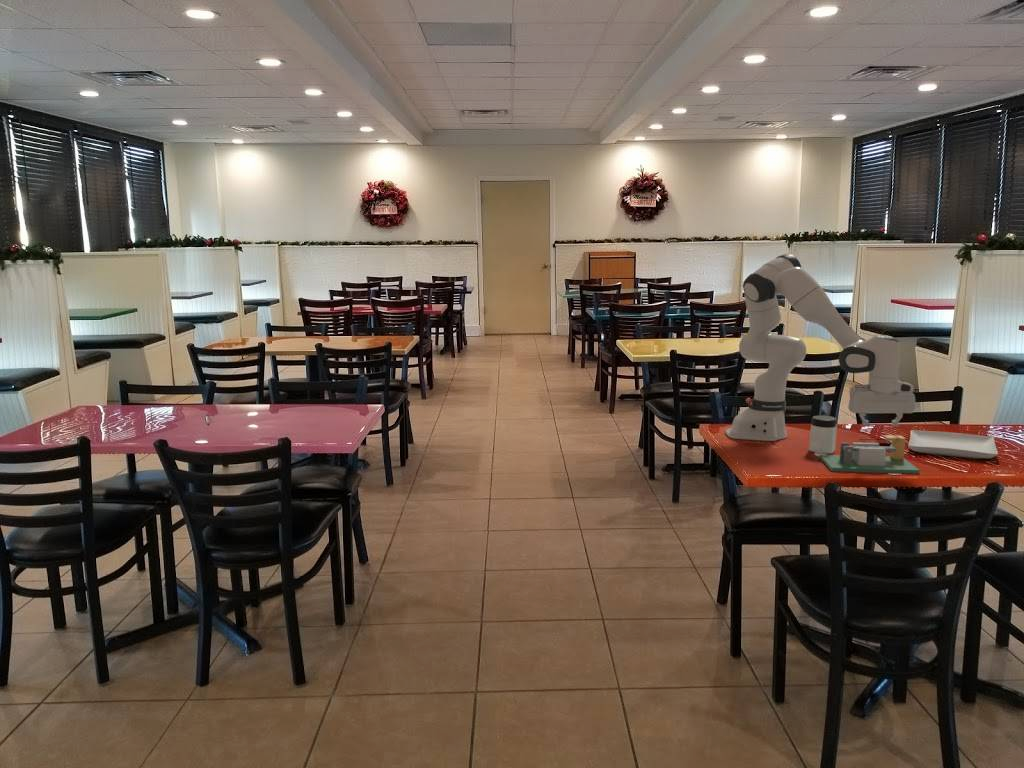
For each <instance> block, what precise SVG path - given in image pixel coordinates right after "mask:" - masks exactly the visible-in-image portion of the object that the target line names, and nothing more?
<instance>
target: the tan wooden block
mask: <svg viewBox="0 0 1024 768" xmlns="http://www.w3.org/2000/svg"><path fill="white" fill-rule="evenodd" d="M883 440H885V441H886V442H891V443H890V447H894V448H895V449H896V452H890V456H889V457H892V458H893V459H898V460H904V459H905V449H906V438H905V437H904V436H903V435H899V434H898V435H897V434H896V435H895V434H894V435H892V434H887V435H886V434H883Z"/></svg>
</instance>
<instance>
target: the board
mask: <svg viewBox="0 0 1024 768" xmlns="http://www.w3.org/2000/svg"><path fill="white" fill-rule="evenodd" d="M842 446H845V449H844V450H843V449H842ZM853 446H880V443H879V442H856V441H855V442H854V441H853V442H852V445H850V443H849V442H842V441H841V442H840V449H839V454H819V456H818V458H819V460H820V459H821V460H822V461H823V462H824V463H825V464H826V465H827V466H828V467H829V468H828V467H827V466H826V465H825V464H824V463H823V462H822V461H821V460H820V461H821V462H822V463H823V464H824V465H825V466H826V467H827V468H828V469H829V470H830V472H839V471H840V472H843V473H845V472H846V473H850V472H851V473H878V474H879V473H881V474H910V475H911V474H916V475H918V474H919V475H920V474H921V470H920V469H919V468H917V467H916V466H915V465H914V464H912V463H911V461H908V460H907V459H905V458H904V460H898V459H893V458H892V457H891V456H888V455H887V456H886V453H887V452H886V449H885V448H863V447H859V450H858V451H853Z"/></svg>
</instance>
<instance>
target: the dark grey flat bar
mask: <svg viewBox="0 0 1024 768" xmlns="http://www.w3.org/2000/svg"><path fill="white" fill-rule="evenodd" d="M852 446H853V445H852ZM859 447H863V448H885V449H886V453H887V452H888V453H889V452H890V453H891V452H896V449H895V448H894V447H891V446H887V445H886V446H884V445H883V446H881V445H879V446H853V451H858V450H859ZM842 449H843V450H844V449H845V446H842Z"/></svg>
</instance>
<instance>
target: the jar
mask: <svg viewBox="0 0 1024 768" xmlns="http://www.w3.org/2000/svg"><path fill="white" fill-rule="evenodd" d="M837 423H838V420H837V418H836V417H834V416H831V415H829V416H828V415H813V416H812V418H811V425H810V432H809V435H810V436H809V451H810V452H813V453H815V454H821V453H825V454H824V455H833V454H834V452H835V451H836V445H837V428H838V425H837Z"/></svg>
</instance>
